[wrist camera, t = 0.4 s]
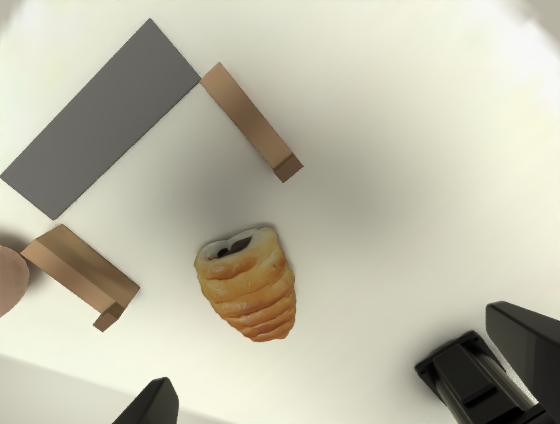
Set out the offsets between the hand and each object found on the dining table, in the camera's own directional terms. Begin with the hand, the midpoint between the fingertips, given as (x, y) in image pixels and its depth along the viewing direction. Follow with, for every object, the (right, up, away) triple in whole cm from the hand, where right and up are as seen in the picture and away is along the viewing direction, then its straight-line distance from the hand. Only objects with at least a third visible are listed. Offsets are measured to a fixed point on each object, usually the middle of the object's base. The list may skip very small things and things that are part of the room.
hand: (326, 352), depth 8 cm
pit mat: (-13, +9, +10) cm, 19 cm away
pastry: (-3, -1, +15) cm, 15 cm away
